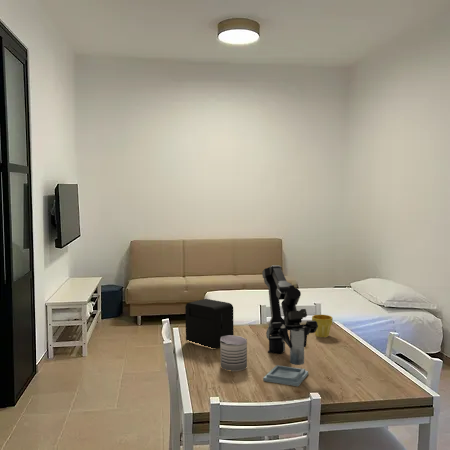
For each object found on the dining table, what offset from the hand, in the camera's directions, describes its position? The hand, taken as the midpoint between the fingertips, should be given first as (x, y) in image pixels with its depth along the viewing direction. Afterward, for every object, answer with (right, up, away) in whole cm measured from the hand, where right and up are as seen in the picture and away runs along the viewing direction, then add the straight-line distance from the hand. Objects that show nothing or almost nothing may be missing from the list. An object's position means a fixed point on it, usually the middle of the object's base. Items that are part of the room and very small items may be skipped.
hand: (297, 347), depth 189 cm
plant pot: (+21, -9, +59) cm, 64 cm away
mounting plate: (-4, -12, +2) cm, 13 cm away
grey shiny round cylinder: (0, -6, +2) cm, 7 cm away
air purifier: (-36, -10, +48) cm, 61 cm away
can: (-25, -12, +15) cm, 31 cm away
